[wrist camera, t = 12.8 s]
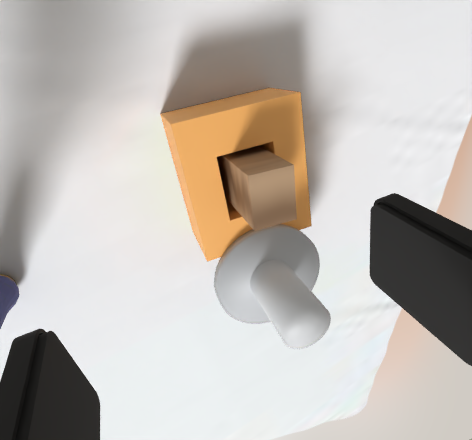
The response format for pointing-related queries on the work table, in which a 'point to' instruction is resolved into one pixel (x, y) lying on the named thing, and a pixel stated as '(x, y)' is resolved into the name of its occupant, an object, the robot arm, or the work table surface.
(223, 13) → the work table surface
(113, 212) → the work table surface
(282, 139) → the orange block with cylinder
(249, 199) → the tan wooden block
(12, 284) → the rubber mallet
